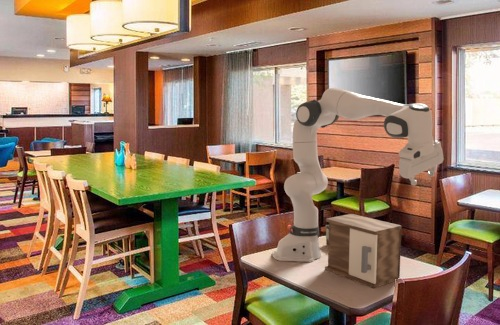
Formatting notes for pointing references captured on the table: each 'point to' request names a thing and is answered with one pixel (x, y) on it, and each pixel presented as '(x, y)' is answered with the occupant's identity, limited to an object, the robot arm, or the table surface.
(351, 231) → the sliding door
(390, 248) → the cabinet
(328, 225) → the food container
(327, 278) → the table surface
